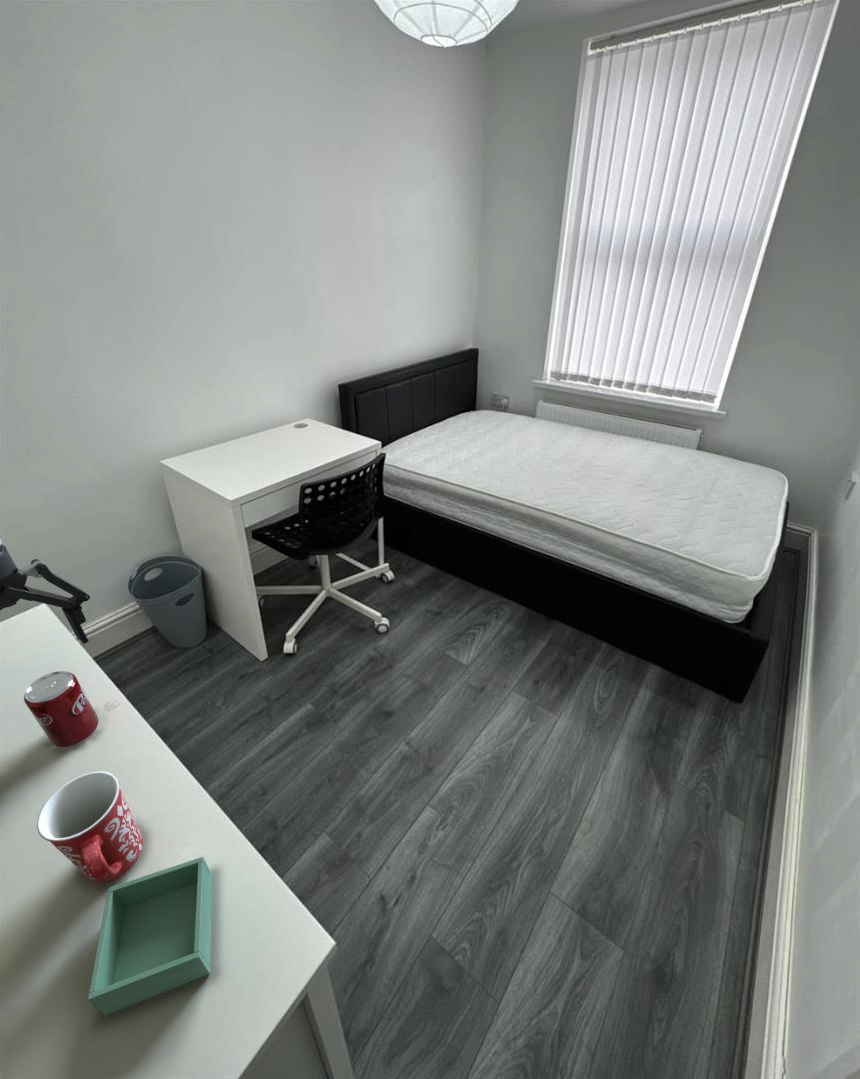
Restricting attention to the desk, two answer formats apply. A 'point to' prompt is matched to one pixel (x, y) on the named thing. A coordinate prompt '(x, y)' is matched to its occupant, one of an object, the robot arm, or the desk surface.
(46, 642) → the desk surface
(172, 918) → the teal square tray
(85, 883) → the desk surface
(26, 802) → the desk surface
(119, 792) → the mug
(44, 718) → the soda can
